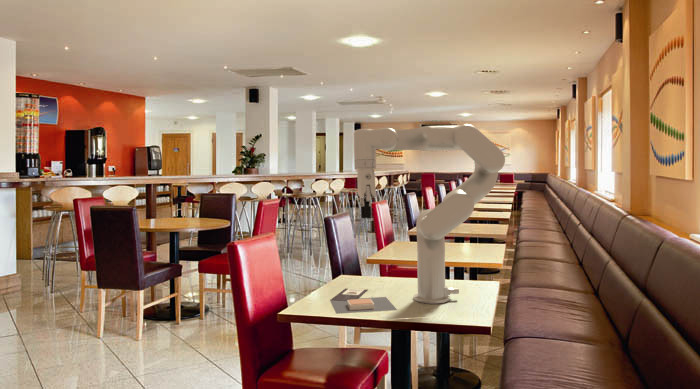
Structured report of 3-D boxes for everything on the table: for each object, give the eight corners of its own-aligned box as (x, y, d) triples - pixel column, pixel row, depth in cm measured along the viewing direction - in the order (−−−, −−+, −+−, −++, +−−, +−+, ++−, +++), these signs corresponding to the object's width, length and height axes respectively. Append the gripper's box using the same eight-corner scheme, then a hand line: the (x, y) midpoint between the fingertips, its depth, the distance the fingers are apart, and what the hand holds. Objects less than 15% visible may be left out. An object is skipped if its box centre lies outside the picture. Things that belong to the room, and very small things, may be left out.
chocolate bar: (330, 299, 196) (345, 288, 213) (330, 302, 196) (345, 290, 214) (354, 301, 194) (368, 289, 211) (354, 303, 194) (368, 292, 211)
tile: (370, 298, 191) (374, 303, 184) (370, 303, 191) (374, 308, 184) (347, 299, 189) (350, 304, 183) (347, 304, 190) (350, 310, 183)
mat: (385, 297, 200) (385, 296, 199) (397, 311, 182) (397, 309, 182) (329, 301, 197) (329, 299, 197) (336, 314, 179) (336, 313, 179)
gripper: (380, 164, 187) (381, 219, 188) (371, 164, 202) (372, 215, 203) (357, 165, 186) (358, 220, 187) (351, 165, 201) (352, 216, 202)
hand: (366, 217), depth 195 cm, fingers closed
